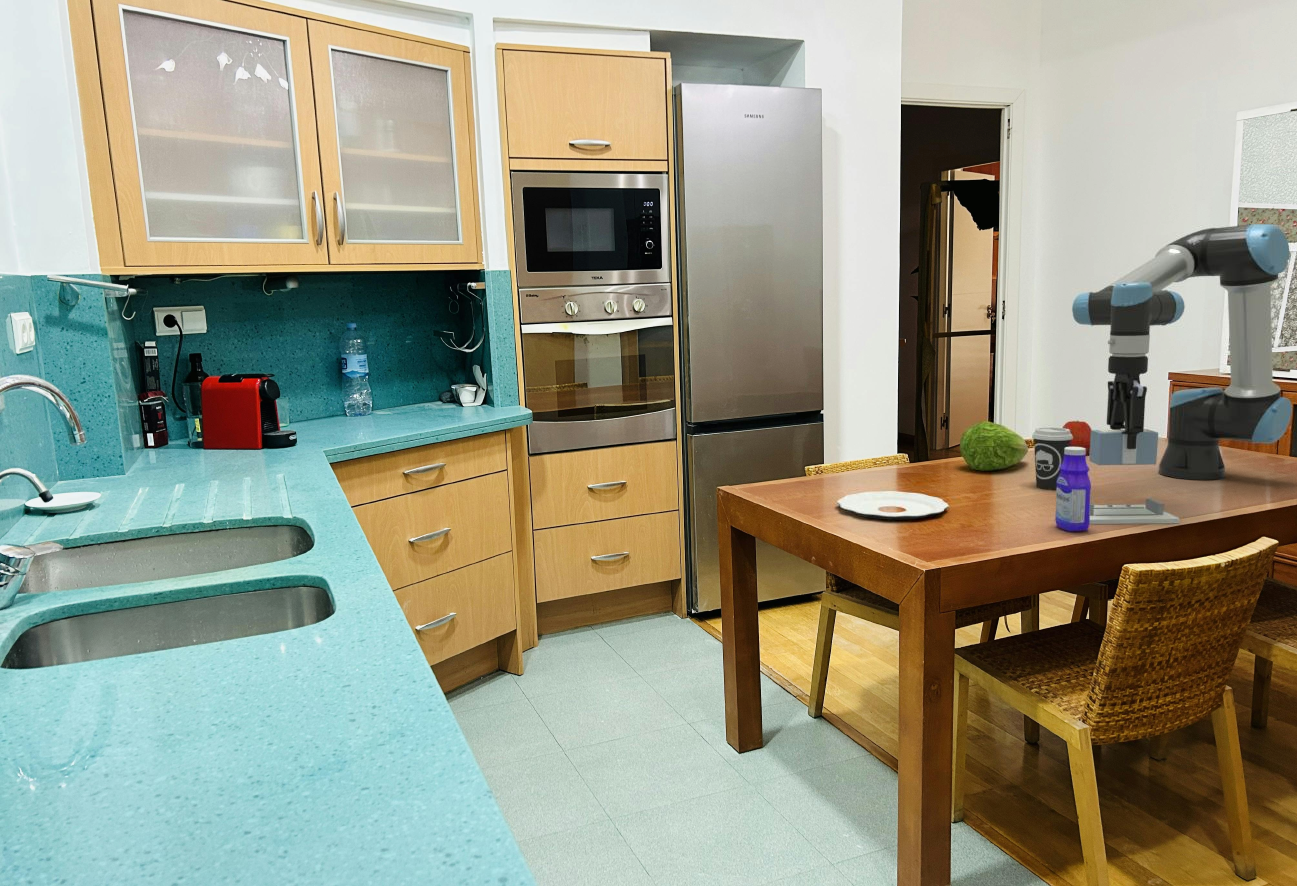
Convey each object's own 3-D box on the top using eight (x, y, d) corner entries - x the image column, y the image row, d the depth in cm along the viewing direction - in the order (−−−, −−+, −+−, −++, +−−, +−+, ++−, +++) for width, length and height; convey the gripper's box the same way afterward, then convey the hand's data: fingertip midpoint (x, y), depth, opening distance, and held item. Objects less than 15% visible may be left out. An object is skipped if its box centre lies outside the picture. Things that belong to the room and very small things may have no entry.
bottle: (1049, 525, 190) (1052, 445, 187) (1074, 523, 190) (1078, 444, 187) (1068, 533, 183) (1072, 451, 180) (1094, 532, 183) (1098, 450, 180)
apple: (1062, 456, 266) (1064, 422, 264) (1052, 450, 276) (1054, 417, 274) (1098, 456, 264) (1100, 422, 262) (1087, 450, 274) (1089, 417, 272)
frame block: (1098, 465, 191) (1100, 432, 190) (1089, 460, 196) (1090, 429, 195) (1156, 464, 190) (1158, 432, 189) (1145, 460, 195) (1147, 428, 194)
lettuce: (1055, 443, 251) (1016, 413, 261) (1005, 441, 237) (967, 410, 247) (1027, 482, 258) (991, 452, 268) (977, 483, 244) (941, 451, 254)
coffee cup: (1075, 491, 220) (1077, 432, 218) (1034, 490, 222) (1036, 432, 220) (1065, 483, 230) (1067, 426, 227) (1026, 483, 231) (1028, 426, 229)
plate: (931, 528, 191) (931, 520, 191) (822, 516, 204) (822, 508, 204) (958, 504, 212) (958, 496, 212) (857, 495, 225) (858, 487, 225)
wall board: (1150, 508, 201) (1151, 494, 200) (1179, 523, 188) (1180, 507, 187) (1064, 509, 202) (1064, 495, 202) (1087, 524, 189) (1087, 508, 189)
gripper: (1093, 352, 198) (1088, 454, 202) (1129, 358, 181) (1123, 469, 184) (1127, 351, 198) (1122, 453, 202) (1167, 357, 180) (1160, 468, 184)
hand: (1122, 460), depth 193 cm, fingers closed on frame block, 5 cm apart
